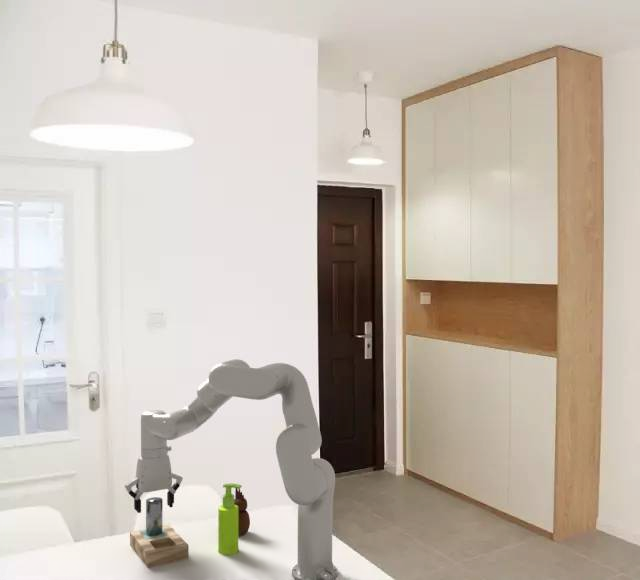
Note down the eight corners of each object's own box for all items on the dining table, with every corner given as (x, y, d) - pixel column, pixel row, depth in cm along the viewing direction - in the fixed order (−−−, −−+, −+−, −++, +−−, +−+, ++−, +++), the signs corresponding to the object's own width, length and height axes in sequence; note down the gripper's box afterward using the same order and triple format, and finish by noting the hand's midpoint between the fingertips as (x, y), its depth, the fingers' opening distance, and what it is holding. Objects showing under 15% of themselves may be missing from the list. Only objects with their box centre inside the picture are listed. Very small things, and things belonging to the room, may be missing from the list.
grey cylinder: (164, 534, 207) (164, 500, 206) (148, 537, 204) (148, 503, 204) (159, 528, 211) (159, 496, 210) (144, 531, 208) (144, 498, 208)
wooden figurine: (227, 531, 220) (227, 484, 219) (245, 528, 222) (245, 482, 222) (234, 539, 214) (234, 491, 213) (252, 536, 216) (252, 488, 216)
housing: (188, 558, 199) (188, 544, 199) (147, 567, 193) (147, 553, 193) (168, 537, 214) (168, 524, 214) (130, 545, 208) (129, 531, 208)
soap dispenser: (238, 556, 201) (238, 488, 200) (215, 554, 202) (215, 486, 202) (244, 548, 207) (244, 482, 206) (222, 546, 208) (222, 480, 207)
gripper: (177, 445, 214) (178, 500, 215) (121, 453, 206) (122, 510, 206) (185, 451, 208) (186, 507, 208) (128, 459, 199) (128, 518, 200)
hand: (154, 508), depth 207 cm, fingers open, 9 cm apart
